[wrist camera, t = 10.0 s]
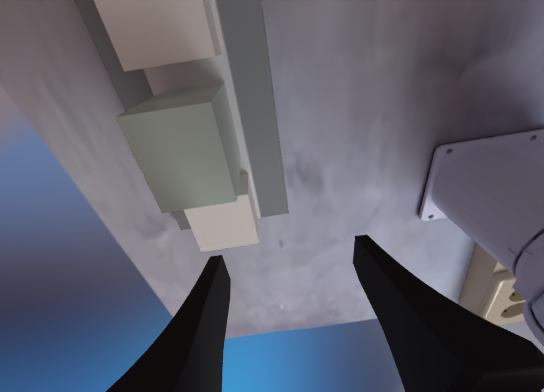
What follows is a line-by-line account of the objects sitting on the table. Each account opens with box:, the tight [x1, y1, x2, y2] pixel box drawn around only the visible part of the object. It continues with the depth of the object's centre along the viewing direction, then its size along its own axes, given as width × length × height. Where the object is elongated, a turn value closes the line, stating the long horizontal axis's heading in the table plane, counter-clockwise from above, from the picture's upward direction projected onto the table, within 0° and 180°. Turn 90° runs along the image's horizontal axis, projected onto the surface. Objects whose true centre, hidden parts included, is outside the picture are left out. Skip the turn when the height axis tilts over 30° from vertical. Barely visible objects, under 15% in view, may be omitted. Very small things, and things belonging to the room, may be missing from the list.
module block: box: [116, 82, 241, 213], centre depth 14 cm, size 4×5×6 cm
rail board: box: [75, 0, 289, 252], centre depth 16 cm, size 10×18×5 cm, turn 8°
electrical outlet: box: [458, 243, 526, 326], centre depth 28 cm, size 7×4×18 cm
